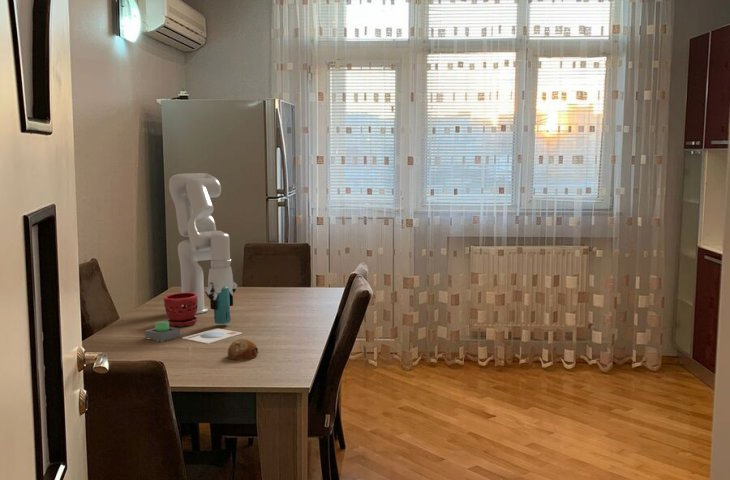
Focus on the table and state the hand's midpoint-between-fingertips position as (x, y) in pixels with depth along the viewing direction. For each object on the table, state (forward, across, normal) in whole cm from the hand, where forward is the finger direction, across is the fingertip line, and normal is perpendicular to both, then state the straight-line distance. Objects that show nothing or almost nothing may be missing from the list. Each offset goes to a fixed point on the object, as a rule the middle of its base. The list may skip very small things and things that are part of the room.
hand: (221, 307), depth 298 cm
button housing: (+8, +26, -5) cm, 28 cm away
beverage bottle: (+8, 0, 0) cm, 8 cm away
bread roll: (+8, +28, +38) cm, 48 cm away
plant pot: (+8, +7, -16) cm, 19 cm away
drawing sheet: (+8, +14, +9) cm, 18 cm away
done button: (+6, +26, -5) cm, 27 cm away
